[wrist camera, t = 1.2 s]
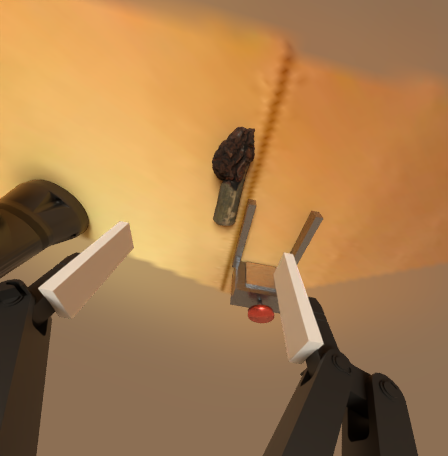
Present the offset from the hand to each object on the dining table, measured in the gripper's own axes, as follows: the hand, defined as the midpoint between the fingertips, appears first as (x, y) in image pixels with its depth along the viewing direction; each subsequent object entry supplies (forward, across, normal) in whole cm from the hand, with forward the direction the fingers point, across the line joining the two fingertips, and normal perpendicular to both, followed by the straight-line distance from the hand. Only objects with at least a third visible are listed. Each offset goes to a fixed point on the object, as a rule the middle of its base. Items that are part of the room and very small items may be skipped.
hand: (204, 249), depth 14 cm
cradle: (+22, +13, -16) cm, 30 cm away
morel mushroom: (+23, 0, 0) cm, 23 cm away
